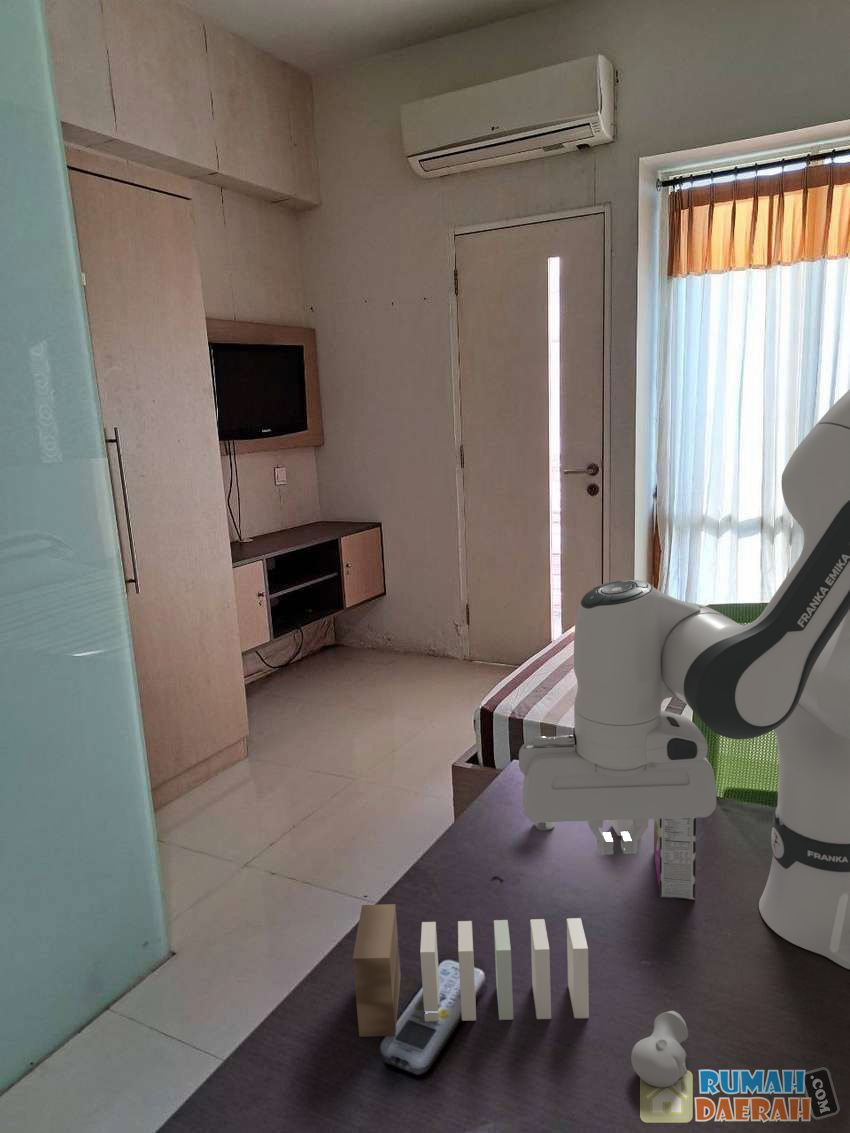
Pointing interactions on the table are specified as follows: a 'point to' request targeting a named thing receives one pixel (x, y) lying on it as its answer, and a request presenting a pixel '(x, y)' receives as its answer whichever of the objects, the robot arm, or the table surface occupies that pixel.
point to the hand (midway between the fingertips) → (617, 851)
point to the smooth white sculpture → (662, 1051)
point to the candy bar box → (675, 857)
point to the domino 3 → (503, 969)
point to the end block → (377, 970)
